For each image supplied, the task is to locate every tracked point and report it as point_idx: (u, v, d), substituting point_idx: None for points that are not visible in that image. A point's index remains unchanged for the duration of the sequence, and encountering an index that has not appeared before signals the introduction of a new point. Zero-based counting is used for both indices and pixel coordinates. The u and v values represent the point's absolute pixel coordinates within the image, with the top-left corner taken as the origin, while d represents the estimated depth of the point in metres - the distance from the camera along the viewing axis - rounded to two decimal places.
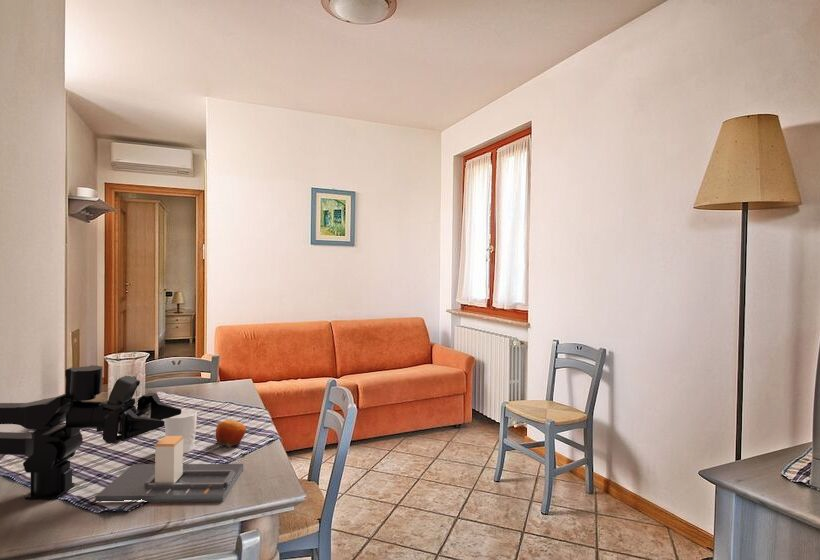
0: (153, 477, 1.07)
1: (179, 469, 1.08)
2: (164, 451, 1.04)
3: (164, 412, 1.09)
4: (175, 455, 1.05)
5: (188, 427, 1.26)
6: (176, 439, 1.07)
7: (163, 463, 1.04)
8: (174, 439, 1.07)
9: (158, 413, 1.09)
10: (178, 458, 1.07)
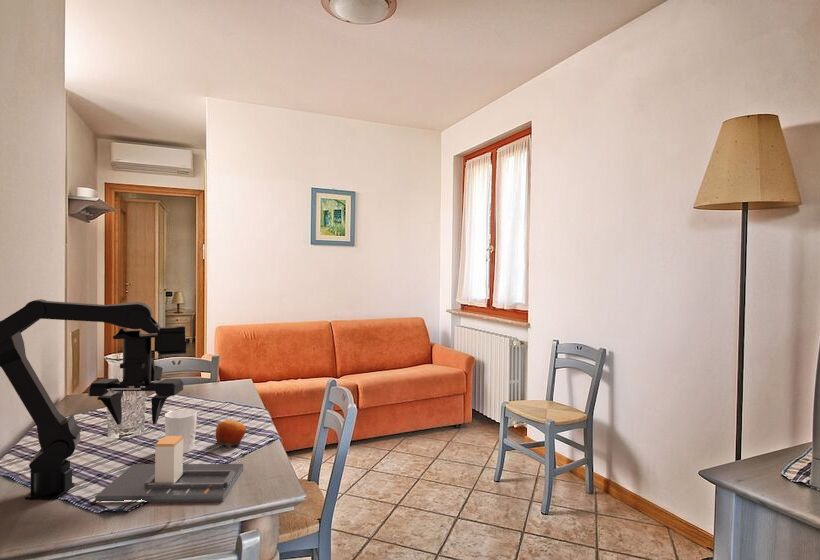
0: (153, 477, 1.07)
1: (179, 469, 1.08)
2: (164, 451, 1.04)
3: (117, 408, 1.09)
4: (175, 455, 1.05)
5: (188, 427, 1.26)
6: (176, 439, 1.07)
7: (163, 463, 1.04)
8: (174, 439, 1.07)
9: (116, 403, 1.09)
10: (178, 458, 1.07)
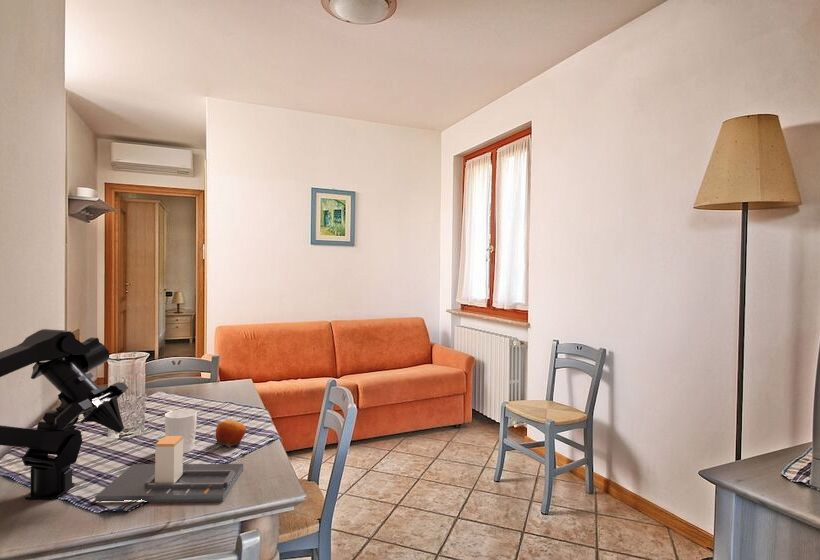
0: (153, 477, 1.07)
1: (179, 469, 1.08)
2: (164, 451, 1.04)
3: None
4: (175, 455, 1.05)
5: (188, 427, 1.26)
6: (176, 439, 1.07)
7: (163, 463, 1.04)
8: (174, 439, 1.07)
9: None
10: (178, 458, 1.07)
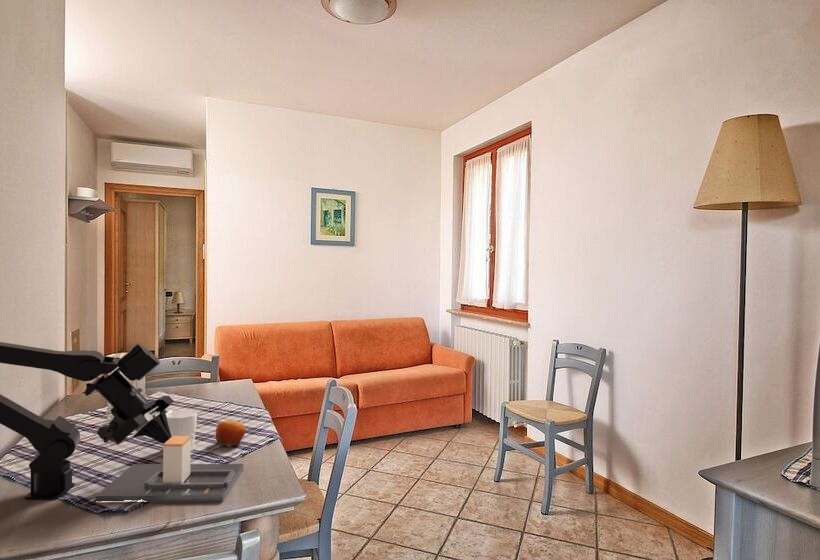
0: (153, 477, 1.07)
1: (187, 469, 1.08)
2: (172, 451, 1.04)
3: None
4: (183, 455, 1.05)
5: (188, 427, 1.26)
6: (184, 439, 1.07)
7: (171, 463, 1.04)
8: (182, 439, 1.07)
9: None
10: (186, 458, 1.07)
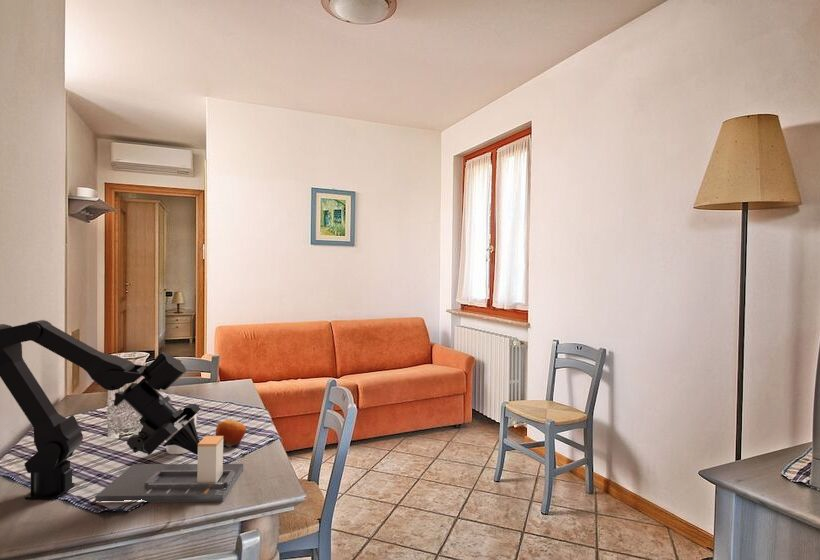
0: (153, 477, 1.07)
1: (220, 468, 1.08)
2: (206, 451, 1.05)
3: None
4: (217, 455, 1.06)
5: None
6: (217, 439, 1.08)
7: (205, 462, 1.05)
8: (215, 439, 1.08)
9: None
10: (219, 458, 1.08)
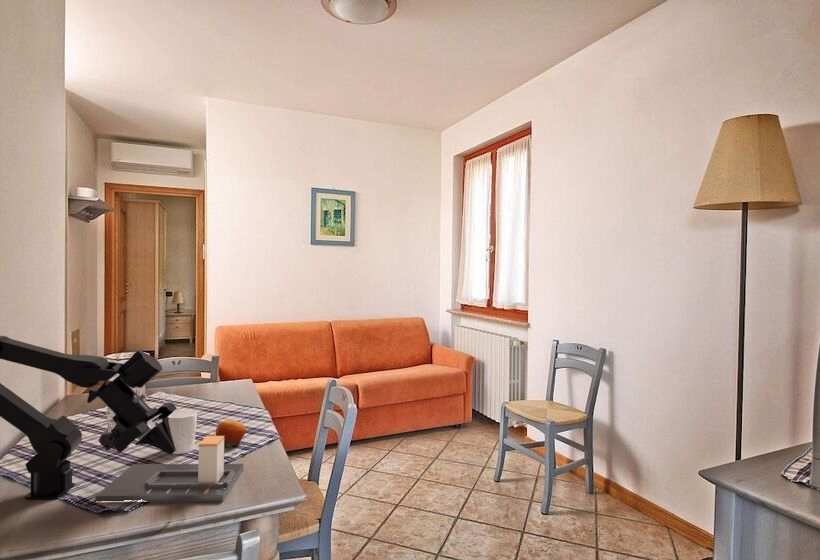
0: (153, 477, 1.07)
1: (221, 468, 1.08)
2: (207, 451, 1.05)
3: None
4: (218, 455, 1.06)
5: (188, 427, 1.26)
6: (218, 439, 1.08)
7: (206, 462, 1.05)
8: (216, 439, 1.08)
9: None
10: (220, 458, 1.08)
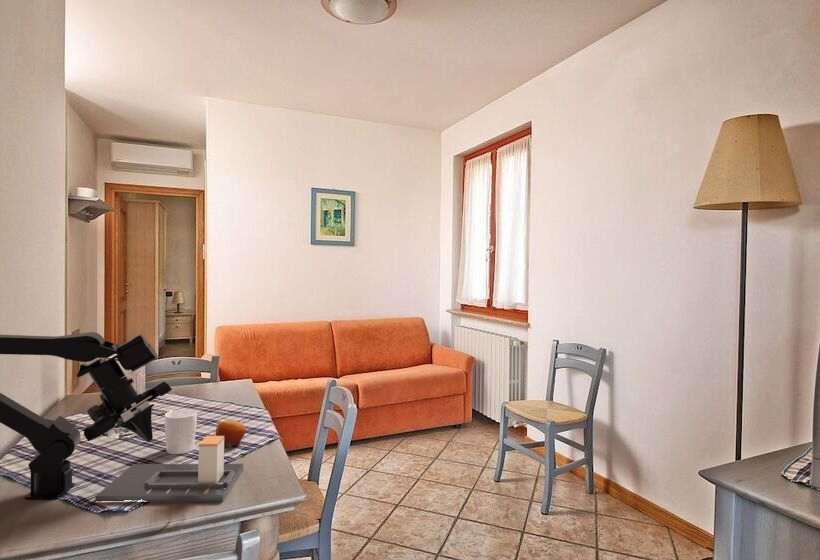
0: (153, 477, 1.07)
1: (221, 468, 1.08)
2: (207, 451, 1.05)
3: None
4: (218, 455, 1.06)
5: (188, 427, 1.26)
6: (218, 439, 1.08)
7: (206, 462, 1.05)
8: (216, 439, 1.08)
9: None
10: (220, 458, 1.08)
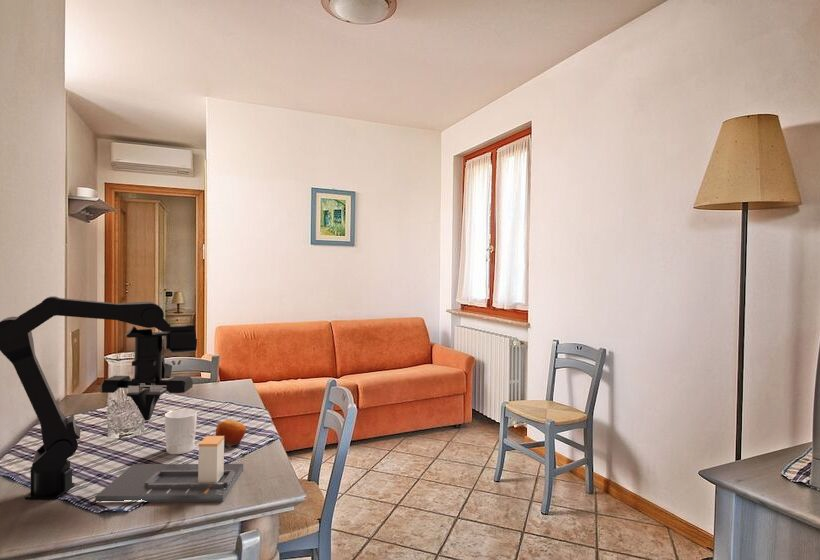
0: (153, 477, 1.07)
1: (221, 468, 1.08)
2: (207, 451, 1.05)
3: (145, 405, 1.13)
4: (218, 455, 1.06)
5: (188, 427, 1.26)
6: (218, 439, 1.08)
7: (206, 462, 1.05)
8: (216, 439, 1.08)
9: (144, 399, 1.12)
10: (220, 458, 1.08)
